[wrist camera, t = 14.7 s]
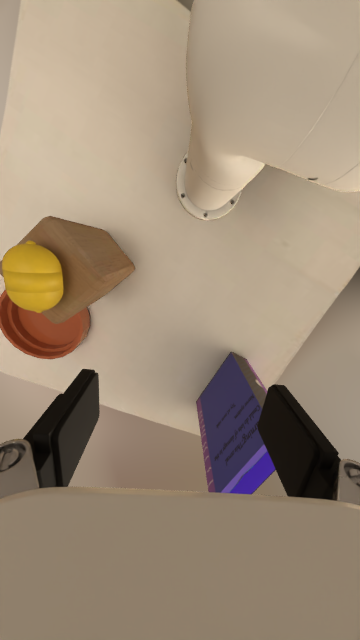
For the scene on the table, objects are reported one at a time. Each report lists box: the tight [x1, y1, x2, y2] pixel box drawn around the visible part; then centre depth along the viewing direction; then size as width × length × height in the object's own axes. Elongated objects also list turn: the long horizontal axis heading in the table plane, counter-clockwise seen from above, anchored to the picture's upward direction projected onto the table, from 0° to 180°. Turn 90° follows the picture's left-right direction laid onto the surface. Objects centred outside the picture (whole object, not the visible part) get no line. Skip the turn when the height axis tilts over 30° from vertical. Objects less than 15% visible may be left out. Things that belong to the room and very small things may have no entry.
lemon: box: [2, 241, 63, 313], centre depth 22 cm, size 8×5×5 cm
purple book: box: [196, 352, 276, 494], centre depth 43 cm, size 17×5×24 cm, turn 151°
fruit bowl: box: [0, 290, 90, 359], centre depth 45 cm, size 17×17×4 cm
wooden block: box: [0, 216, 135, 324], centre depth 34 cm, size 10×10×20 cm
